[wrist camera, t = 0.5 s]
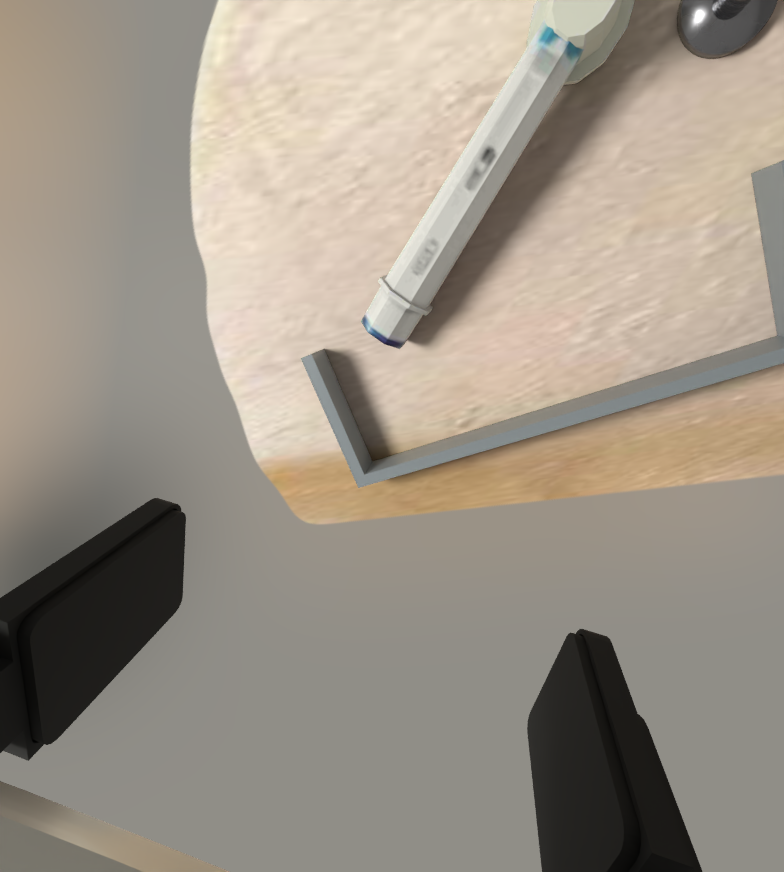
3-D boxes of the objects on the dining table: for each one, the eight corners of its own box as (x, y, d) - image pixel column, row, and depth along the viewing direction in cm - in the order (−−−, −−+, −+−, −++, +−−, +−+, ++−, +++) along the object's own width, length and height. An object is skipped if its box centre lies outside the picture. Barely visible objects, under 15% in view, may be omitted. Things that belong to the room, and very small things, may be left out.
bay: (769, 166, 28) (801, 152, 25) (796, 344, 30) (827, 350, 28) (314, 352, 37) (300, 358, 35) (366, 473, 40) (358, 487, 38)
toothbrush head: (346, 318, 32) (594, -137, 20) (373, 304, 38) (577, -55, 26) (403, 359, 32) (685, -68, 20) (421, 339, 38) (648, -2, 26)
